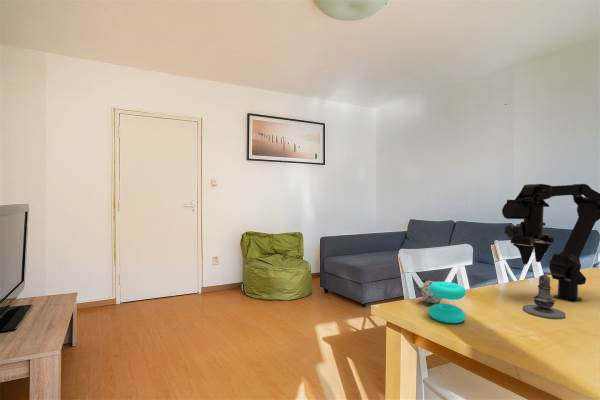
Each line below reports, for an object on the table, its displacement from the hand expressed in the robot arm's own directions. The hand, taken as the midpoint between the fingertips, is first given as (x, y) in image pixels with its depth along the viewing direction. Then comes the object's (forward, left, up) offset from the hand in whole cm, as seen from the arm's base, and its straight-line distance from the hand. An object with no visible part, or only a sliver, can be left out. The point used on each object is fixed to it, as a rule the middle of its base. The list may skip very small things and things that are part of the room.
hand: (531, 263), depth 121 cm
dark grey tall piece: (+12, +9, -12) cm, 19 cm away
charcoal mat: (+12, +9, -13) cm, 20 cm away
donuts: (+44, -3, -13) cm, 46 cm away
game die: (+36, -14, -13) cm, 41 cm away
